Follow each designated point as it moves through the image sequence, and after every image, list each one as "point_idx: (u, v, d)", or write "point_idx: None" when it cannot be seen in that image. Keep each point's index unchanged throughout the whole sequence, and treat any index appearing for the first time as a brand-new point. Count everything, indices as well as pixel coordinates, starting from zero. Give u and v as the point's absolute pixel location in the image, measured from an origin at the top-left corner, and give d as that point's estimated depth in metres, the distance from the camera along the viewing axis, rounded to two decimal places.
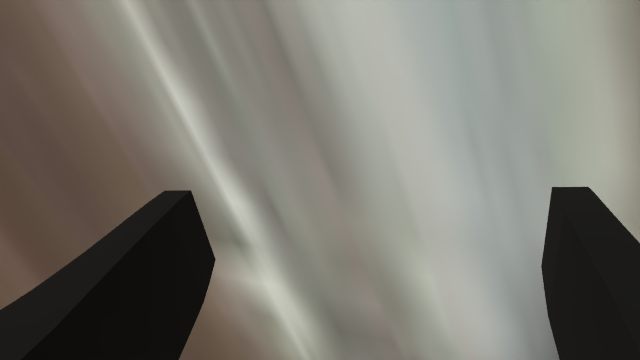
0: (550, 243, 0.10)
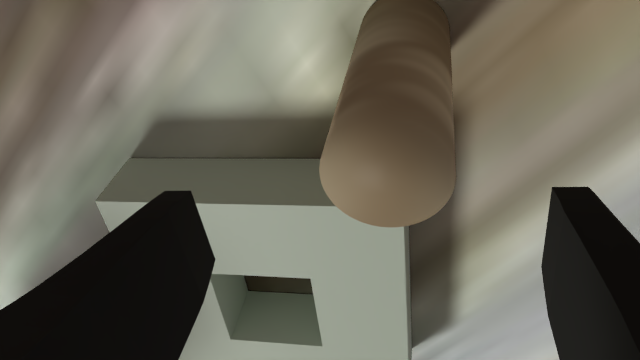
0: (550, 243, 0.10)
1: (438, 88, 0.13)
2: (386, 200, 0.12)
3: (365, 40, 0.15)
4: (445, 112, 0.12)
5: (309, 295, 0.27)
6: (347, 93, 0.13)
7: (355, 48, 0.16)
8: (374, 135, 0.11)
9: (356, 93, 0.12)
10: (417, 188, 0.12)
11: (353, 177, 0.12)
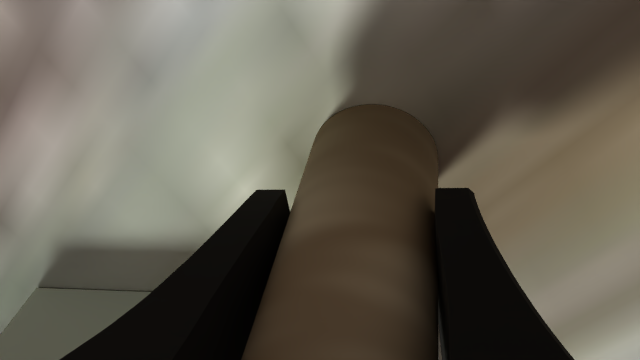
0: None
1: (408, 336, 0.07)
2: None
3: (303, 205, 0.10)
4: None
5: None
6: (256, 343, 0.08)
7: (292, 209, 0.10)
8: None
9: (265, 359, 0.07)
10: None
11: None
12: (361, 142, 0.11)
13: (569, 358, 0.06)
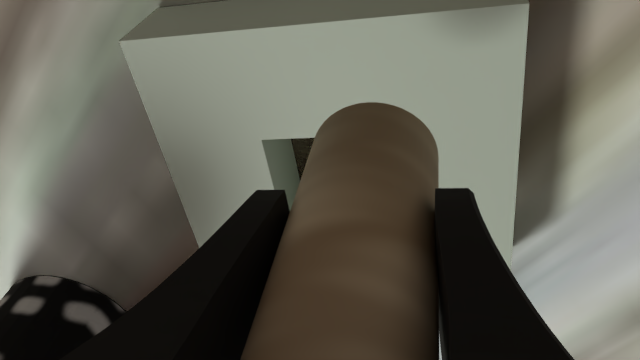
0: None
1: (409, 333, 0.07)
2: None
3: (303, 203, 0.10)
4: None
5: None
6: (255, 340, 0.08)
7: (292, 207, 0.10)
8: None
9: (264, 356, 0.07)
10: None
11: None
12: (361, 140, 0.11)
13: (569, 358, 0.06)
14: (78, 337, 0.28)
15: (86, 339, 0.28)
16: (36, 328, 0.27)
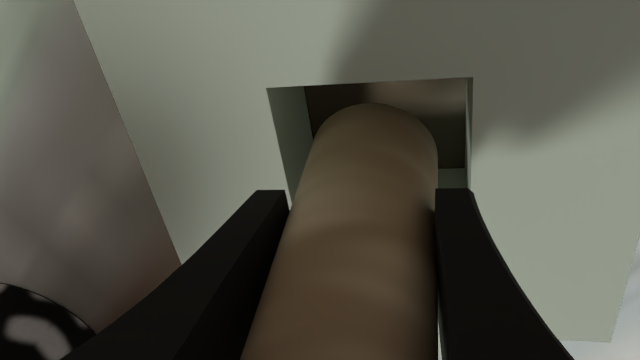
0: None
1: (407, 335, 0.07)
2: None
3: (303, 204, 0.10)
4: None
5: None
6: (255, 341, 0.08)
7: (292, 207, 0.10)
8: None
9: (264, 357, 0.07)
10: None
11: None
12: (361, 141, 0.11)
13: (569, 358, 0.06)
14: None
15: None
16: None
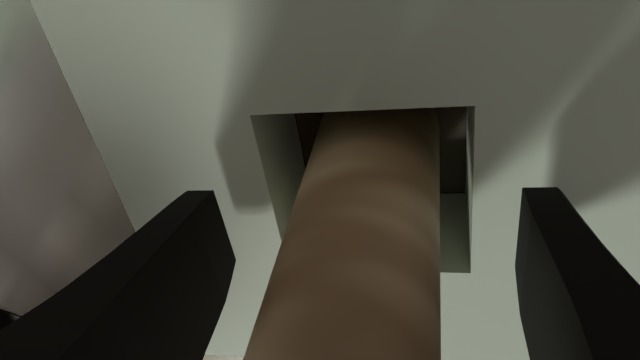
0: (521, 242, 0.10)
1: (414, 257, 0.09)
2: None
3: (319, 158, 0.11)
4: (424, 304, 0.08)
5: None
6: (282, 265, 0.09)
7: (308, 163, 0.12)
8: None
9: (291, 275, 0.08)
10: None
11: None
12: None
13: None
14: None
15: None
16: None
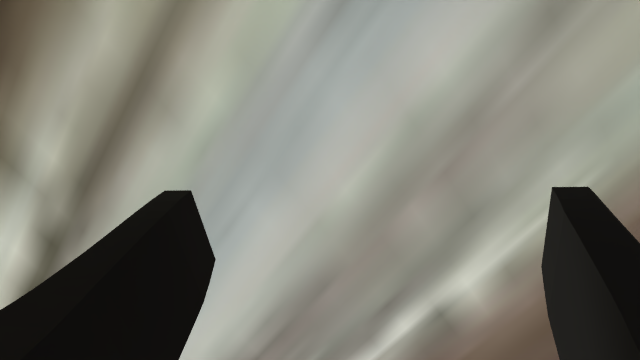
0: (550, 243, 0.10)
1: None
2: None
3: None
4: None
5: None
6: None
7: None
8: None
9: None
10: None
11: None
12: None
13: None
14: None
15: None
16: None
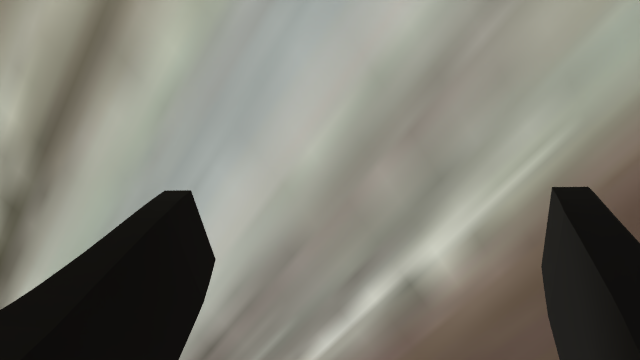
0: (550, 243, 0.10)
1: None
2: None
3: None
4: None
5: None
6: None
7: None
8: None
9: None
10: None
11: None
12: None
13: None
14: None
15: None
16: None
